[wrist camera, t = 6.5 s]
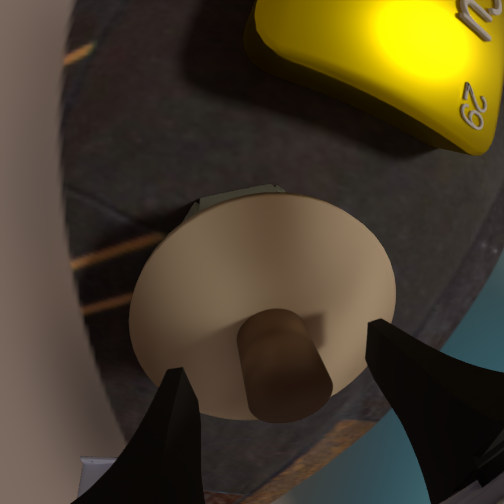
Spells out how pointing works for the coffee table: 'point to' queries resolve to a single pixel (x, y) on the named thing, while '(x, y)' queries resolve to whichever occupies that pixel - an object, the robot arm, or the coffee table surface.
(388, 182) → the coffee table surface
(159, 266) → the lid
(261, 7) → the element tile
